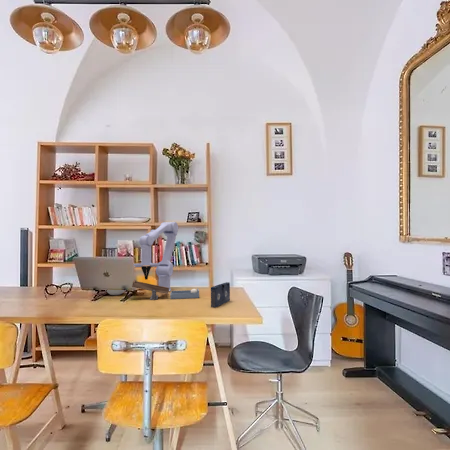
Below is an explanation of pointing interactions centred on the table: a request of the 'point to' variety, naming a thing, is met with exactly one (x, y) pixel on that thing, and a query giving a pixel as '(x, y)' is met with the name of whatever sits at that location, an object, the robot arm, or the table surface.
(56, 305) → the table surface
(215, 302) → the vhs cassette tape
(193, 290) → the ball
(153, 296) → the lever stand
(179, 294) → the bin
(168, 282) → the robot arm
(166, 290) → the lever
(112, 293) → the teacup
